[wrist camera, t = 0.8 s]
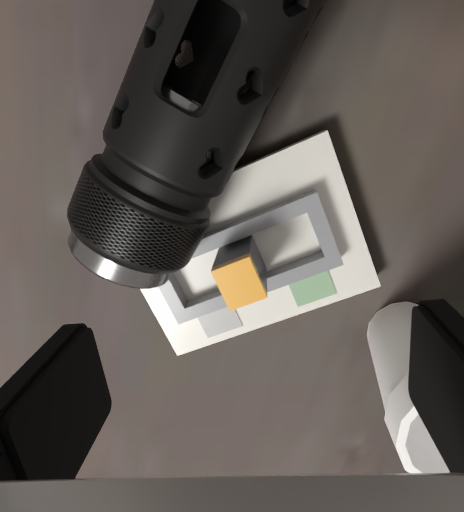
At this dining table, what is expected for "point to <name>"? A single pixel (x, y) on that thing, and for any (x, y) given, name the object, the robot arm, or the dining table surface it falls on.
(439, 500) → the robot arm
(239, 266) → the breaker lever
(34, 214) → the dining table surface
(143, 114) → the muzzle brake
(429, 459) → the foam cup
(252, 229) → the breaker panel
